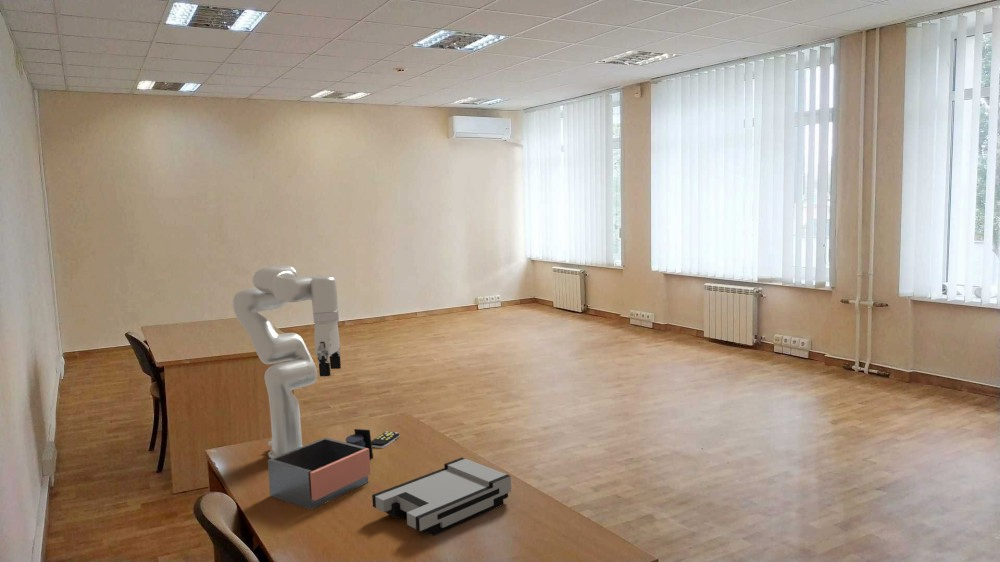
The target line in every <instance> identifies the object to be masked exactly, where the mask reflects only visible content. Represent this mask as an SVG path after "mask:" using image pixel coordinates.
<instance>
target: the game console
mask: <svg viewBox="0 0 1000 562" xmlns="http://www.w3.org/2000/svg"><path fill="white" fill-rule="evenodd" d="M443 465H444V468H443V467H442V468H440V469H438V470H435V471H432V472H430V473H428V474H425V475H421V476H419V477H416V478H414V479H411V480H408V481H406V482H402V483H400V484H398V485H394V486H392V487H390V488H387V489H384V490H382V491H379V492H376V493H374V494H371V495H372V497H371V499H372V507H373V508H375V509H377V510H379V511H380V512H382V513H386V514H388V515H390V516H391V517H393V518H399V517H400V518H399V519H400V520H403V519H404V520H406V525H407V526H409V527H411V528H412V529H414V530H417V531H419V532H422V533H424V534H429V535H431V536H432V537H434V536H437V535H439V534H442V533H444V532H445V531H448V530H450V529H453V528H455V527H457V526H459V525H461V524H463V523H466V522H467V521H468V522H469V521H470V520H473V519H475V518H476V517H478V516H481V515H484V514H486V513H488V512H490V511H493V510H494V508H495V509H497V508H499V507H501V506H503V505H502V504H504V500H505V499H508V498H509V493H511V492H512V477H511V476H512V475H509V474H507V473H504V472H501V471H499V470H496V469H494V468H491V467H488V466H486V465H483V464H480V463H477V462H475V461H473V460H470V459H467V458H465V457H460V458H457V459H454V460H452V461H451V460H450V461H449V462H448V461H447V462H446V463H444V464H443ZM500 505H501V506H500ZM498 506H499V507H498ZM496 507H497V508H496ZM492 509H493V510H492ZM406 518H407V519H406Z"/></svg>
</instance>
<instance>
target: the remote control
mask: <svg viewBox="0 0 1000 562" xmlns="http://www.w3.org/2000/svg"><path fill="white" fill-rule="evenodd" d="M399 438H400V433H398V432H397V431H396V432H395V431H394V432H393V431H385V432H383V433H382V434H379V436H377V437H375V438H374V439H371V444H372V448H373V447H375V449H383V448H384V449H385V448H386V447H388V446H389V445H391V444H392V443H393V442H395V441H396V440H398V439H399ZM390 443H391V444H390ZM387 445H388V446H387Z"/></svg>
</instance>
